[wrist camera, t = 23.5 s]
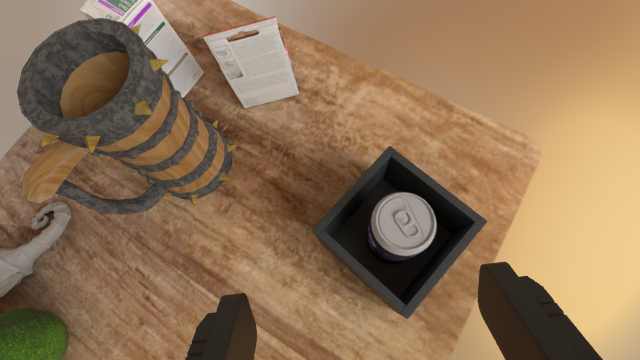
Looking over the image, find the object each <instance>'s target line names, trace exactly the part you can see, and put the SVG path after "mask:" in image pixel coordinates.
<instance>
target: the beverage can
mask: <svg viewBox="0 0 640 360" xmlns="http://www.w3.org/2000/svg"><path fill="white" fill-rule="evenodd" d="M436 231H437V221H436V217H435V214H434V212H433V210H432V208H431V207H430V205H429V204H428V203H427V202H426V201H425V200H424V199H422V198H421V197H419V196H417V195H415V194H412V193H408V192H395V193H391V194H389V195H387V196H385V197H383V198H382V199H381V200H380V201H379V202H378V203H377V204H376V205H375V207H374V209H373V211H372V213H371V217H370V222H369V226H368V230H367V236H366V239H367V245H368V248H369V250H370V251H371V253H372V254H373V255H374V256H375V257H376V258H377V259H379V260H380V261H382V262H385V263H389V264H397V263H401V262H404V261H406V260H408V259H410V258H412V257H414V256H416V255H418V254H420V253H422V252H423V251H425V250H426V249H427V248H428V247H429V246H430V245H431V244H432V242H433V240H434V238H435V235H436Z"/></svg>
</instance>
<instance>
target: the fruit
mask: <svg viewBox="0 0 640 360" xmlns="http://www.w3.org/2000/svg"><path fill="white" fill-rule="evenodd" d="M67 346H68V333H67V329H66V327H65V325H64V324H63V322H62V321H61V320H60V319H59V318H58V317H56V316H55V315H53V314H52V313H50V312H47V311H43V310H38V309H28V308H25V309H18V310H13V311H10V312H7V313H4V314H1V315H0V360H62V359H63V357H64V355H65V354H66V350H67Z"/></svg>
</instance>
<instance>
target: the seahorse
mask: <svg viewBox="0 0 640 360" xmlns="http://www.w3.org/2000/svg"><path fill="white" fill-rule="evenodd" d="M49 211H54V214H53V215H54V220H51V224H50V226H48V227H47V228H46V229H44V230H42V233H41V234H40V235H38V236H36V237H34V238H32V240H31V241H30V242H29V243H27V244H25V245H22V246H19V247H18V248H16V249H11V248H0V297H2V296H4V295H5V294H6V293H8V291H9V290H11V289H12V288H13V287H14V286H15V285H17V284H19V283H20V282H21V280H22V279H23V278H24V277H26V276H28V275H30V274H32V273H33V263H34V262H35V260H36V259H38V258H39V257H40V255H41V254H42V253H43V252H44V251H46V250H47V249H50V248H51V245H52V244H53V243H54V242H55V241H56V240H59V237H60V236H61V234H62V233H63V231H64V230H65V229H67V227H66V225H67V224H68V222H69V220H70V219H71V211H70V207H69V206H68V205H67V203H65V202H62V201H57V202H53V203H49V204H48V205H47V206H45V207H42V209H41V210H40V211H39V212H38V213H36V214H35V217H34V218H33V219H32V220H31V223H32V225H31V228H32V229H34V230H37V229H39V228H43V227H44V226H45V225H46V224H47V222H48V221H49V217H48V216H44V215H45V214H46V213H48V212H49ZM41 218H44V219H43V221H42V222H40V221H41Z"/></svg>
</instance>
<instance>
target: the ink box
mask: <svg viewBox="0 0 640 360" xmlns="http://www.w3.org/2000/svg"><path fill="white" fill-rule="evenodd" d="M252 30H258V31H259V32H257V33H253V34H250V35H246V36H242V37H239V38H235V39H231V40H227V39H226V38H228V37H230V36H234V35H237V33H238V32H240V31H245V32H248V31H252ZM202 37H203V39H204V40H205V42H206V44H207V45H208V47H209V48H210V50H211V52H212V54H213V55H214V57H215V59H216V60H217V62H218V65H219V68H220V70H221V72H222V73H223V75H224V76H225V78H226V80H227V81H228V83H229V84H230V86H231V88H232V89H233V91H234V93H235V94H236V96H237V97H238V99H239V101H240V102H241V104H242V106H243V107H244V108H250V107H254V106H258V105H262V104H266V103H270V102H273V101H277V100H281V99H285V98H288V97H292V96H295V95H299V91H298V87H297V83H296V79H295V75H294V71H293V67H292V64H291V60H290V57H289V54H288V50H287V47H286V44H285V40H284V37H283V34H282V30H281V27H278V25H277V21H276V17H271V18H268V19H264V20H260V21H256V22H252V23H249V24H245V25H241V26H238V27H234V28H230V29H226V30H223V31H219V32H215V33H212V34H208V35H204V36H202Z"/></svg>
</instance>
